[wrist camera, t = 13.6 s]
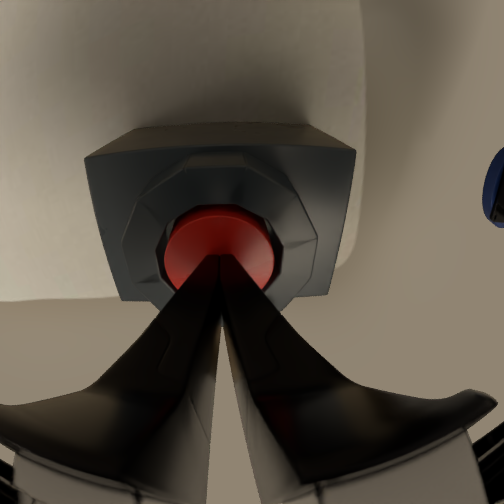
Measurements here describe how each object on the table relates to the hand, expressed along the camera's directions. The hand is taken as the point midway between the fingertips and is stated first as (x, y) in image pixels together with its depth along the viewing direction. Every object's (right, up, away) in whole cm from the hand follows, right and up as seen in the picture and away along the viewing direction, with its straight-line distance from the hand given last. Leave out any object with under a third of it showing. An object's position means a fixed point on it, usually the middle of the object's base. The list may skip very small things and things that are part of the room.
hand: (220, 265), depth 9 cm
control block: (-1, +5, +7) cm, 8 cm away
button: (0, +1, +1) cm, 2 cm away
